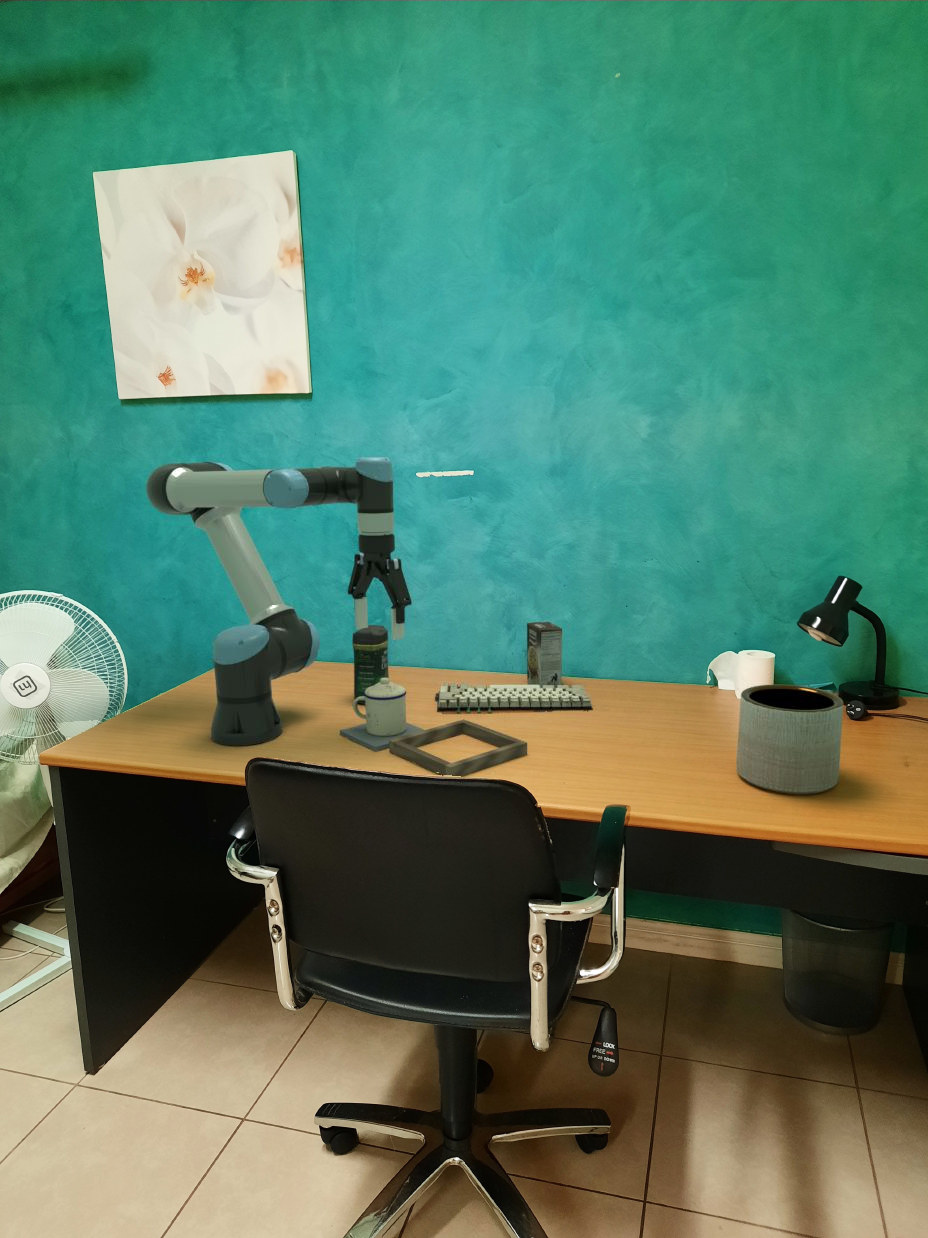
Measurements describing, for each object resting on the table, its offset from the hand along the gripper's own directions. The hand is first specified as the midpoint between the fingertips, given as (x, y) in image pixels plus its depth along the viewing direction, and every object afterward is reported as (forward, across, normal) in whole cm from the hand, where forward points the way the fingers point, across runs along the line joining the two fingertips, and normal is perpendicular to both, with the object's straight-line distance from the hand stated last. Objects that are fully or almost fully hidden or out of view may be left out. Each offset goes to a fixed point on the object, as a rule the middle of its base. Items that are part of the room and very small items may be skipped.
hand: (379, 633), depth 178 cm
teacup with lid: (+22, +1, 0) cm, 22 cm away
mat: (+23, 0, 0) cm, 23 cm away
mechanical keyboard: (+24, -1, -38) cm, 45 cm away
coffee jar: (+23, +24, -13) cm, 35 cm away
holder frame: (+23, -19, -5) cm, 30 cm away
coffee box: (+23, +4, -53) cm, 58 cm away
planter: (+23, -70, -42) cm, 85 cm away
